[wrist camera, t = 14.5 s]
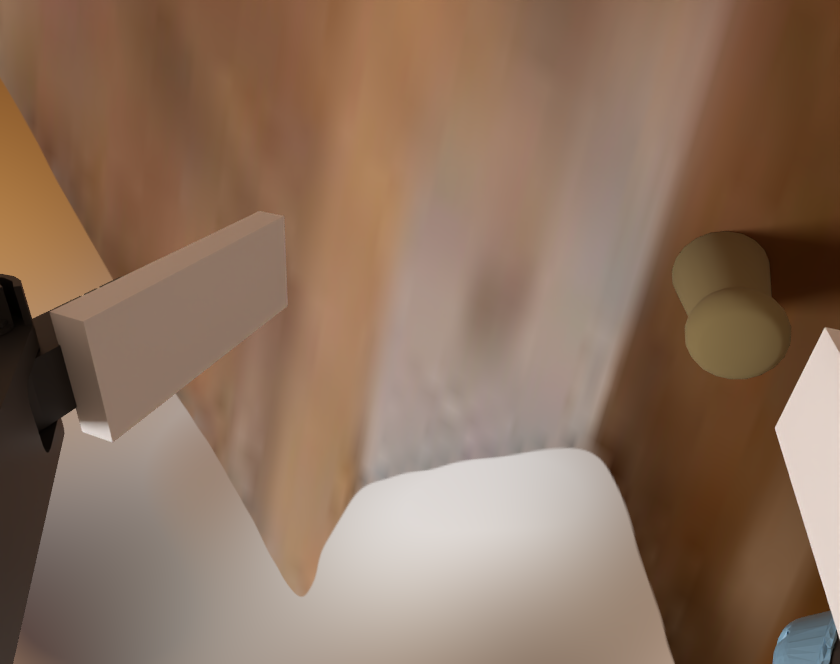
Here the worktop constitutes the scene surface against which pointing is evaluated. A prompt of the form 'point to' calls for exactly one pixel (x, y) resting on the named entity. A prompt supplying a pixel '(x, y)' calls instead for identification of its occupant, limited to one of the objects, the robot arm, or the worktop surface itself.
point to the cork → (730, 306)
